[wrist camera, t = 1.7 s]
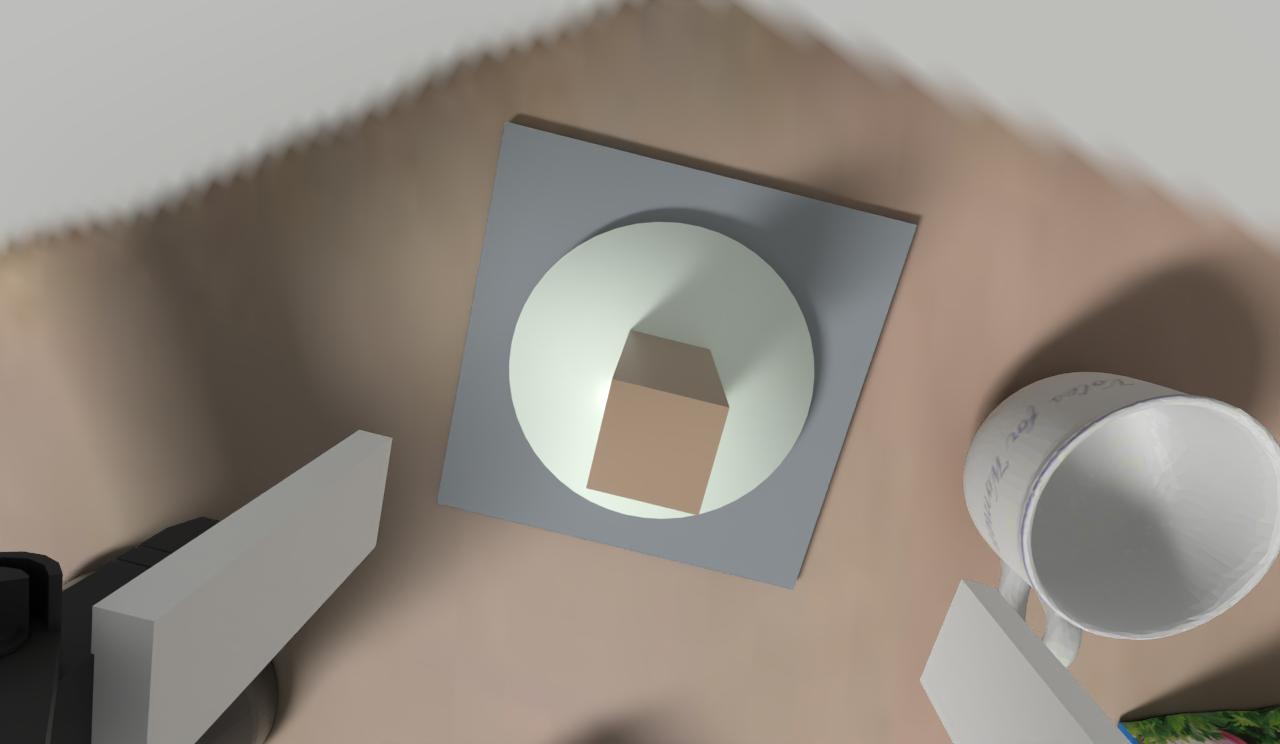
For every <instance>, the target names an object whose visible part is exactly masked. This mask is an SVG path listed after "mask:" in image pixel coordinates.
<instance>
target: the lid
mask: <svg viewBox="0 0 1280 744" xmlns="http://www.w3.org/2000/svg"><path fill="white" fill-rule="evenodd" d="M509 381H510V389H511V396H512V401H513V405H514V408H515V412H516V415H517V419H518V421H519V423H520V426H521V428H522V430H523V433H524V435H525V437H526V439H527V440H528V442H529V444H530V445H531V447H532V449H533V451H534V452H535V453H536V455H537V456H538V457H539V459H540V460H541V461H542V462H543V464H544V465H545V466H546V467H547V468H548V469H549V470H550V471H551V472H552V473H553V474H554V475H555V476H556V477H557V478H558V479H559V480H560V481H561V482H562V483H564V484H565V485H566V486H567V487H569V488H570V489H571V490H572V491H574V492H575V493H577V494H579V495H580V496H582V497H584V498H585V499H587V500H589V501H591V502H593V503H595V504H597V505H600V506H602V507H604V508H606V509H609V510H612V511H616V512H619V513H622V514H625V515H631V516H637V517H642V518H656V519H668V518H682V517H688V516H693V515H698V516H699V514H702V513H706V512H709V511H712V510H715V509H718V508H720V507H723V506H725V505H727V504H729V503H731V502H734V501H736V500H737V499H739V498H741V497H742V496H744V495H745V494H747V493H749V492H750V491H752V490H753V489H754V488H756V487H757V486H758V485H759V484H761V483H762V482H763V481H764V480H766V479H767V478H768V477H769V476H770V475H771V474H772V472H773V471H774V470H775V469H776V468H777V467H778V466H779V465H780V464H781V463H782V461H783V460H784V459H785V457H786V456H787V455H788V453H789V452H790V450H791V449H792V447H793V445H794V444H795V442H796V440H797V438H798V436H799V435H800V433H801V430H802V428H803V425H804V423H805V420H806V418H807V415H808V411H809V407H810V403H811V399H812V394H813V385H814V355H813V349H812V343H811V337H810V334H809V331H808V327H807V324H806V321H805V318H804V316H803V314H802V311H801V309H800V307H799V305H798V303H797V301H796V299H795V297H794V296H793V294H792V293H791V291H790V290H789V288H788V287H787V285H786V284H785V282H784V281H783V280H782V279H781V278H780V277H779V275H778V274H777V273H776V272H775V271H774V270H773V268H772V267H771V266H770V265H768V264H767V263H766V262H765V261H764V260H763V259H761V258H760V257H759V256H758V255H757V254H756V253H754V252H753V251H751V250H750V249H748V248H747V247H745V246H744V245H742V244H741V243H739V242H737V241H735V240H733V239H731V238H729V237H727V236H725V235H723V234H721V233H718V232H715V231H712V230H709V229H706V228H703V227H700V226H694V225H689V224H683V223H674V222H650V223H639V224H633V225H629V226H624V227H620V228H616V229H613V230H611V231H608V232H605V233H603V234H600V235H597V236H595V237H593V238H591V239H590V240H588V241H586V242H584V243H582V244H580V245H579V246H577V247H576V248H574V249H573V250H572V251H570V252H569V253H568V254H566V255H565V256H563V257H562V258H561V259H560V260H559V261H558V262H557V263H556V264H555V265H554V266H553V267H552V268H551V269H550V270H548V271H547V273H546V274H545V275H544V276H543V278H542V279H541V280H540V281H539V283H538V284H537V285H536V286H535V288H534V289H533V291H532V293H531V295H530V296H529V298H528V300H527V301H526V303H525V305H524V307H523V309H522V312H521V314H520V317H519V319H518V321H517V324H516V328H515V332H514V335H513V339H512V344H511V351H510V359H509Z"/></svg>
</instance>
